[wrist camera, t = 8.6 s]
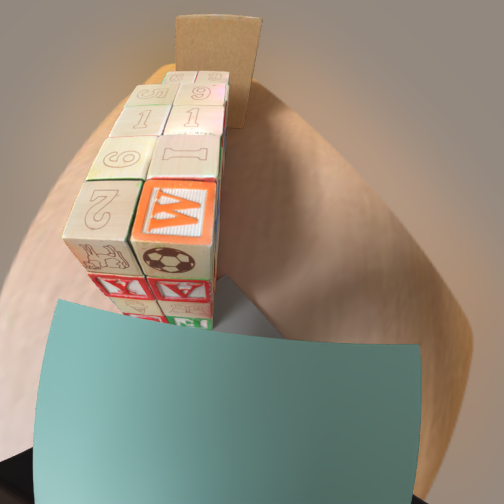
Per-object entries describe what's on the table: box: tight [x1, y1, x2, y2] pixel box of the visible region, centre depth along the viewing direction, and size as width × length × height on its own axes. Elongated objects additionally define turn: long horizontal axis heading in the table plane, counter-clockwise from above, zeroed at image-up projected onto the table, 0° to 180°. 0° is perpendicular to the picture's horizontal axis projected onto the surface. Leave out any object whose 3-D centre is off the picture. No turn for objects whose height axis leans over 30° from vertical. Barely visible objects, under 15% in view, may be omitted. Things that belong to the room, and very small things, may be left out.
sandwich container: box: [175, 14, 262, 128], centre depth 30 cm, size 9×15×15 cm, turn 4°
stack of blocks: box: [62, 71, 230, 330], centre depth 20 cm, size 21×6×12 cm, turn 0°
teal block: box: [33, 299, 421, 504], centre depth 7 cm, size 5×5×12 cm
